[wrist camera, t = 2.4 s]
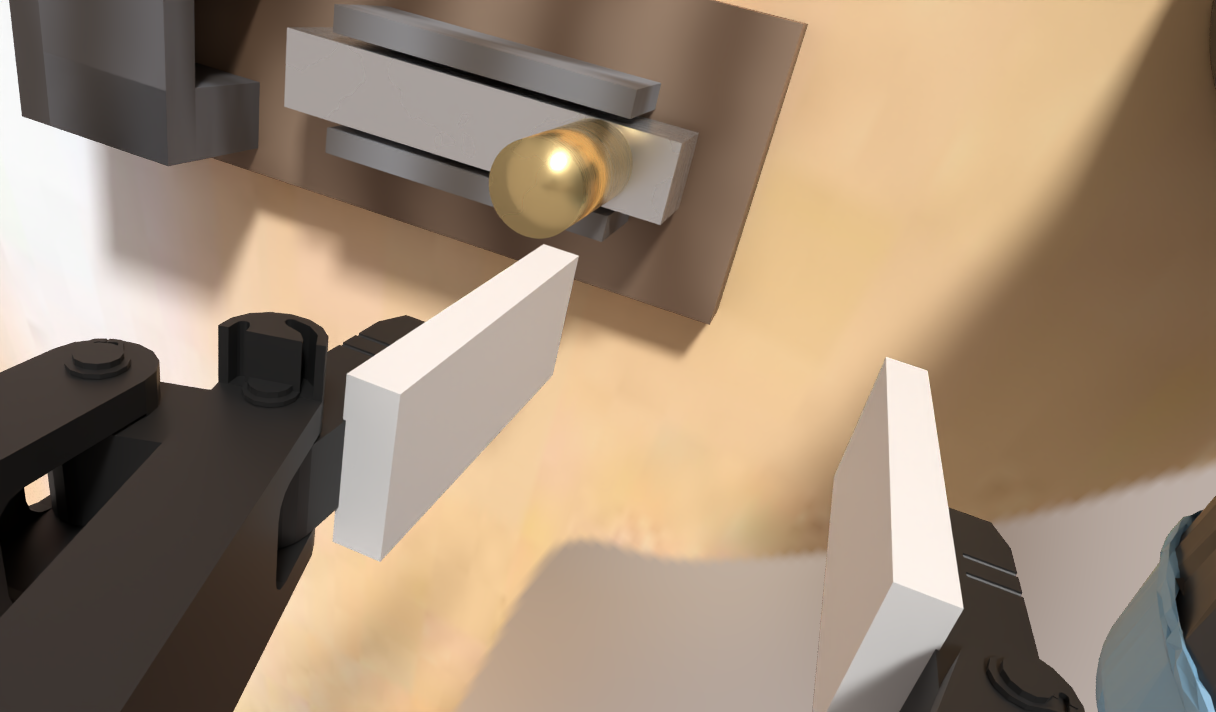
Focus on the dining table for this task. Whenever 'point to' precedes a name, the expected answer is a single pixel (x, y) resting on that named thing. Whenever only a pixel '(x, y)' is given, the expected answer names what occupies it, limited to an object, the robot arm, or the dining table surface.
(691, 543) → the dining table surface
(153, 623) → the robot arm
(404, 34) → the lock frame
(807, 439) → the dining table surface
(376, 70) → the bolt
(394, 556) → the dining table surface
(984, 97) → the dining table surface
